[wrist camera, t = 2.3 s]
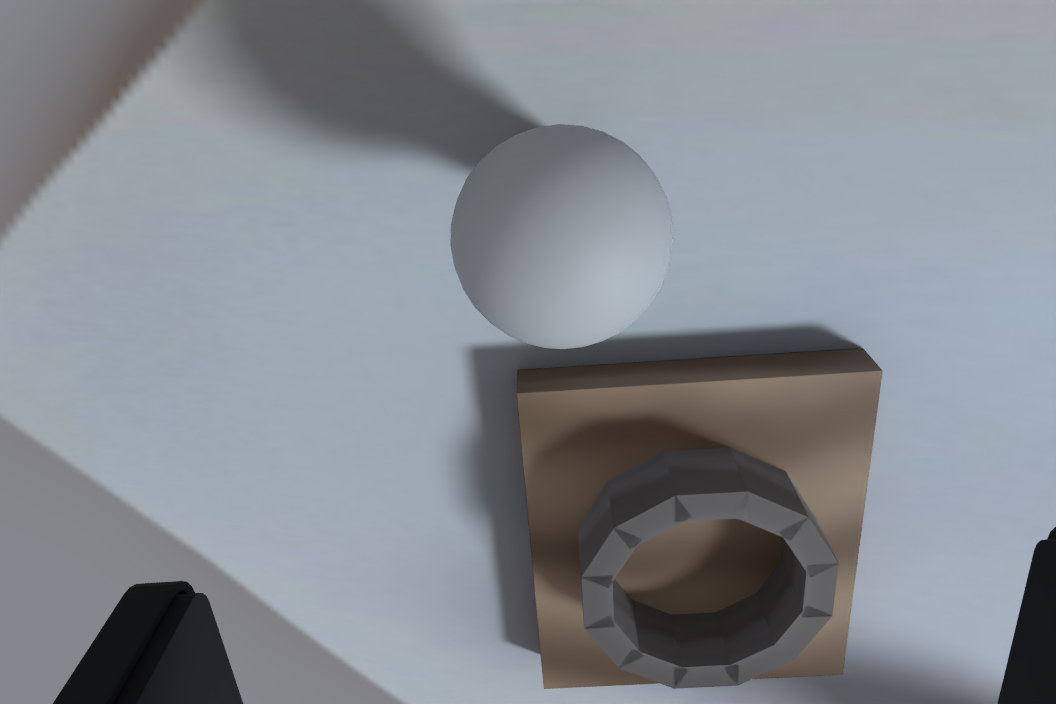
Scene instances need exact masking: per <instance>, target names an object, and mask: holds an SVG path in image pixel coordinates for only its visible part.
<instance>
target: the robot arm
mask: <svg viewBox="0 0 1056 704" xmlns="http://www.w3.org/2000/svg"><path fill="white" fill-rule="evenodd" d="M53 704H243V702H242V699H241V696H240V693H239V690H238V687H237V684H236V681H235V678H234V675H233V672H232V669H231V666H230V663H229V660H228V657H227V654H226V651H225V648H224V645H223V642H222V639H221V636H220V633H219V630H218V627H217V624H216V621H215V618H214V615H213V612H212V608H211V606H210V603H209V600H208V598H207V596H206V595H204V594H203V593H195V592H194V590H193V588H192V586H191V585H190V584H189V583H188V582H183V581H177V582H161V583H145V584H136V585H134V586H132V587H130V588H129V589H128V590H127V591H126V592H125V594H124V595H123V597H122V598H121V600H120V601H119V603H118V604H117V606H116V607H115V609H114V611H113V612H112V614H111V615H110V617H109V618H108V620H107V621H106V623H105V624H104V626H103V627H102V629H101V630H100V632H99V634H98V635H97V637H96V638H95V640H94V641H93V643H92V644H91V646H90V648H89V649H88V650H87V652H86V654H85V655H84V657H83V658H82V660H81V661H80V663H79V664H78V666H77V667H76V669H75V671H74V672H73V674H72V675H71V677H70V678H69V680H68V682H67V683H66V684H65V686H64V687H63V689H62V690H61V692H60V694H59V695H58V697H57V698H56V700H55V701H54V703H53ZM998 704H1056V527H1055V528H1054V529H1053V530H1052V531H1051V532H1050V534H1049V536H1048V539H1047V540H1041V541H1040V542H1039V543H1038V544H1037V545H1036V547H1035V550H1034V554H1033V558H1032V562H1031V566H1030V570H1029V574H1028V579H1027V583H1026V587H1025V591H1024V595H1023V600H1022V604H1021V608H1020V612H1019V616H1018V621H1017V625H1016V629H1015V633H1014V637H1013V642H1012V646H1011V650H1010V654H1009V658H1008V662H1007V667H1006V671H1005V675H1004V679H1003V683H1002V688H1001V692H1000V696H999V700H998Z"/></svg>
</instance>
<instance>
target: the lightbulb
mask: <svg viewBox="0 0 1056 704" xmlns="http://www.w3.org/2000/svg"><path fill="white" fill-rule="evenodd" d="M672 244H673V226H672V215H671V212H670V208H669V204H668V201H667V197H666V195H665V193H664V191H663V189H662V187H661V185H660V183H659V181H658V179H657V177H656V176H655V174H654V172H653V171H652V170H651V169H650V167H649V166H648V165H647V164H646V162H645V161H644V160H643V159H642V157H641V156H640V155H638V154H637V153H636V152H635V151H634V150H632V149H631V148H630V147H629V146H627V145H626V144H625V143H624V142H622V141H620V140H618V139H616V138H614V137H612V136H610V135H608V134H606V133H605V132H602V131H598V130H595V129H591V128H587V127H584V126H575V125H561V124H559V125H551V126H543V127H536V128H534V129H531V130H528V131H525V132H522V133H519V134H516V135H514V136H512V137H511V138H509V139H507V140H506V141H504V142H502V143H501V144H499V145H497V146H496V147H495V148H494V149H492V150H491V151H490V152H489V153H488V154H487V155H486V156H485V157H484V158H482V159H481V160H480V161H479V163H478V164H477V165H476V167H475V168H474V169H473V171H472V172H471V173H470V175H469V176H468V177H467V179H466V181H465V183H464V185H463V188H462V190H461V192H460V194H459V196H458V199H457V202H456V205H455V209H454V214H453V218H452V222H451V250H452V256H453V261H454V266H455V269H456V272H457V274H458V277H459V279H460V282H461V284H462V287H463V289H464V291H465V293H466V294H467V296H468V297H469V299H470V300H471V302H472V304H473V305H474V307H475V308H476V309H477V310H478V311H479V312H480V313H481V314H482V315H483V316H484V317H485V318H486V319H487V320H488V321H489V322H490V323H491V324H493V325H494V326H495V327H497V328H498V329H500V330H501V331H503V332H504V333H506V334H507V335H508V336H511V337H513V338H515V339H517V340H520V341H522V342H524V343H527V344H531V345H535V346H539V347H543V348H553V349H570V348H579V347H585V346H588V345H592V344H595V343H598V342H602V341H604V340H606V339H608V338H610V337H612V336H614V335H616V334H618V333H620V332H621V331H622V330H624V329H625V328H626V327H628V326H629V325H630V324H632V323H633V322H634V321H635V320H636V319H637V318H638V317H639V316H640V315H641V314H642V313H643V312H644V310H645V309H646V308H647V307H648V306H649V305H650V304H651V302H652V301H653V299H654V298H655V296H656V294H657V293H658V291H659V289H660V288H661V286H662V284H663V281H664V279H665V276H666V273H667V270H668V268H669V264H670V257H671V251H672Z"/></svg>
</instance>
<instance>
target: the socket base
mask: <svg viewBox="0 0 1056 704" xmlns="http://www.w3.org/2000/svg"><path fill="white" fill-rule="evenodd" d="M881 378H882V370H881V369H880V367H879V366H878V365H877V364H876V363H875V362H874V360H873V359H872V358H871V357H870V356H869V355H868V353H867V352H866V351H865V350H864V349H863V348H860V349H844V350H828V351H812V352H797V353H781V354H765V355H749V356H733V357H717V358H702V359H686V360H670V361H654V362H638V363H622V364H607V365H591V366H575V367H559V368H543V369H527V370H518V377H517V401H518V412H519V423H520V434H521V445H522V456H523V466H524V477H525V488H526V499H527V510H528V521H529V532H530V543H531V554H532V565H533V576H534V586H535V597H536V608H537V619H538V630H539V641H540V652H541V663H542V674H543V685H544V689H551V688H572V687H593V686H614V685H635V684H656V683H661V684H663V685H666V686H669V687H672V688H674V689H675V688H693V687H714V686H735V685H739V684H742V683H744V682H746V681H748V680H751V679H761V678H782V677H803V676H823V675H842V674H843V666H844V659H845V651H846V644H847V636H848V628H849V621H850V613H851V606H852V598H853V590H854V583H855V575H856V568H857V560H858V553H859V545H860V537H861V530H862V522H863V515H864V507H865V499H866V492H867V484H868V477H869V469H870V461H871V454H872V446H873V439H874V431H875V423H876V416H877V408H878V401H879V393H880V385H881Z"/></svg>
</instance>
